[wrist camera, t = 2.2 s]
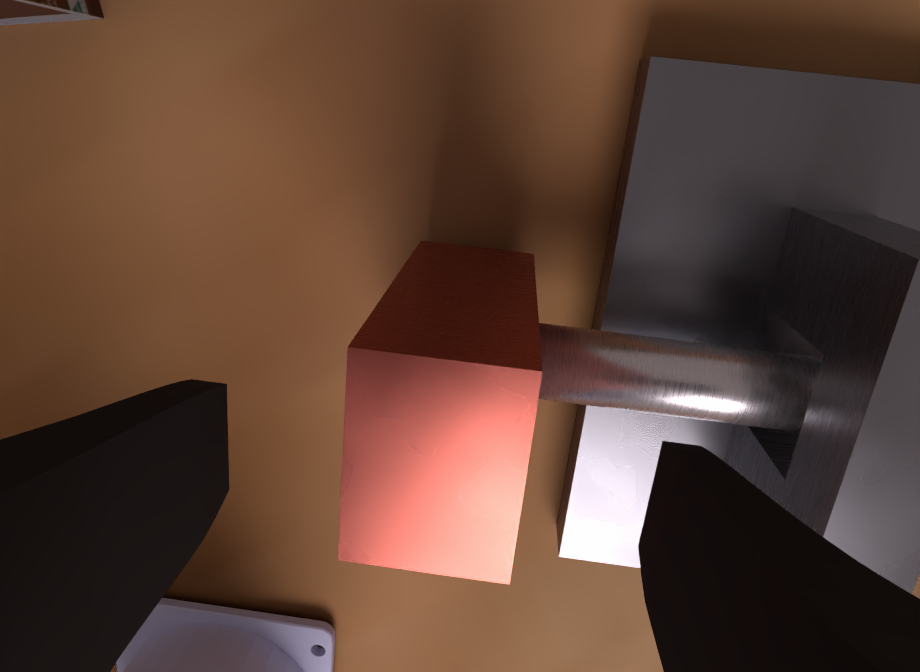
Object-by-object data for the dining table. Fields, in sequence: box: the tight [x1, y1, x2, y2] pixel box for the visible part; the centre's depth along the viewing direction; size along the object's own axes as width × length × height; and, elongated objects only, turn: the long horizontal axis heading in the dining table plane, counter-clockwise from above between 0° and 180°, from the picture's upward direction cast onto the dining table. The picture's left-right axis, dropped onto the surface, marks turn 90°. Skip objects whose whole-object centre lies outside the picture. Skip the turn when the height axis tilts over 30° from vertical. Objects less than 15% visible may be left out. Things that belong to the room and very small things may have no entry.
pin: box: [338, 241, 823, 584], centre depth 14 cm, size 14×4×8 cm, turn 84°
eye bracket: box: [556, 56, 920, 594], centre depth 16 cm, size 10×14×7 cm
